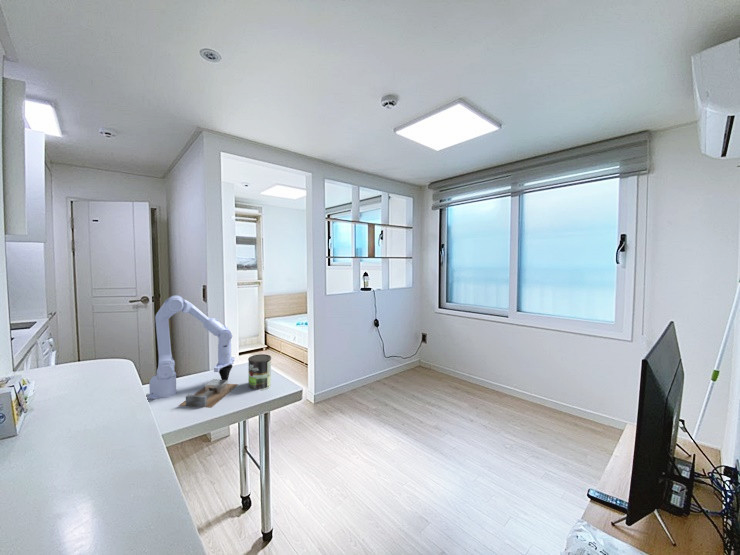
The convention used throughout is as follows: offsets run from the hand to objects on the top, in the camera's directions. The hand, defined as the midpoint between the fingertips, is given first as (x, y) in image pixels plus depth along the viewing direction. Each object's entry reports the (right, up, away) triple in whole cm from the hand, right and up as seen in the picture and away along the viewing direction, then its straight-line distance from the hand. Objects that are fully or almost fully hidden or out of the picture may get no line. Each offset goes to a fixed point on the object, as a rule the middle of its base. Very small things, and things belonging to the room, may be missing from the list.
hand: (224, 380), depth 145 cm
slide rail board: (-1, -3, -11) cm, 12 cm away
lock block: (0, -2, -7) cm, 7 cm away
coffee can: (+17, -3, 0) cm, 17 cm away
